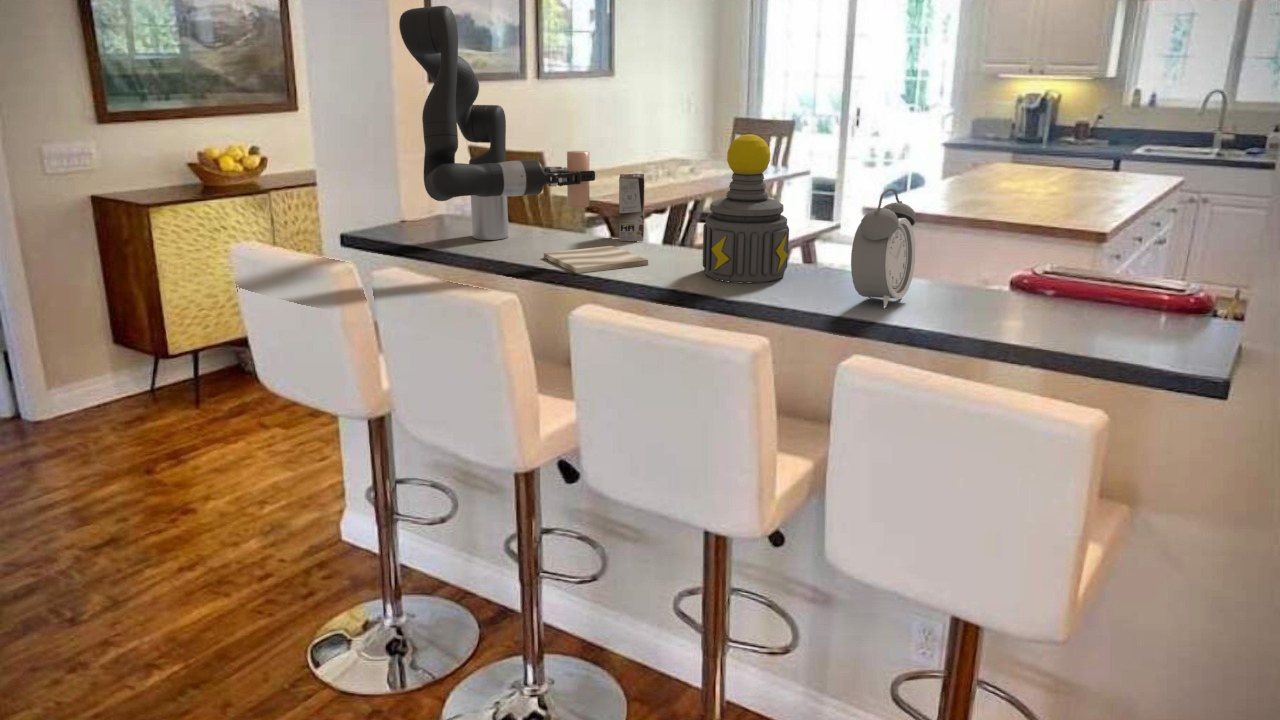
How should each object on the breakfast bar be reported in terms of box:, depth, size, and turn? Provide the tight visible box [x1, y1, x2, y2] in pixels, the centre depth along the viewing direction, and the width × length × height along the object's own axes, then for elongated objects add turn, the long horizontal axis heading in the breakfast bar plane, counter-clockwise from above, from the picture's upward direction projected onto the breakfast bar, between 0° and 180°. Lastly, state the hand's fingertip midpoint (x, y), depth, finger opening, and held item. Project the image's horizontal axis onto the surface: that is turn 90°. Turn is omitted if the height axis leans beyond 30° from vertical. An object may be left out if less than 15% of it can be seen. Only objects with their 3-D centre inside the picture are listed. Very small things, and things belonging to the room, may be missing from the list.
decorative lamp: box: [702, 133, 790, 284], centre depth 204 cm, size 19×19×30 cm
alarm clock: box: [850, 188, 917, 307], centre depth 184 cm, size 16×9×22 cm, turn 146°
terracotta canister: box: [566, 150, 591, 209], centre depth 215 cm, size 5×5×12 cm
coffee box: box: [618, 173, 645, 242], centre depth 245 cm, size 9×6×16 cm
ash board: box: [543, 245, 649, 274], centre depth 221 cm, size 18×18×1 cm
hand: (588, 174), depth 215 cm, fingers closed on terracotta canister, 5 cm apart
